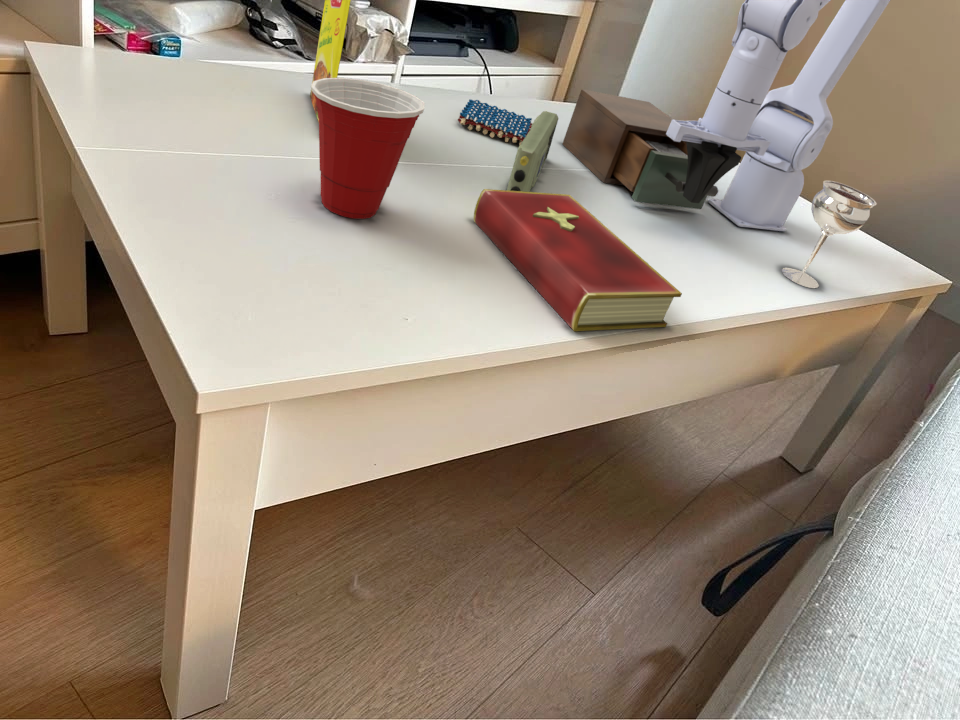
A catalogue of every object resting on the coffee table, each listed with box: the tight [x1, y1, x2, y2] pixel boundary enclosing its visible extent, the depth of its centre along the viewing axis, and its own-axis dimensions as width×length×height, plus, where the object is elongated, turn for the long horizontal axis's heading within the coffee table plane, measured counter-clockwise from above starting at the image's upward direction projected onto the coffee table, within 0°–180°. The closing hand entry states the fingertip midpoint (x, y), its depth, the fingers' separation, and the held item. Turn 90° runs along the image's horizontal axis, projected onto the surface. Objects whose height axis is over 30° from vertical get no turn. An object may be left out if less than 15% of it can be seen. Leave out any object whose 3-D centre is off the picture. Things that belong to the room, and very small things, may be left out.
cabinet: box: [561, 88, 687, 187], centre depth 113 cm, size 14×13×9 cm
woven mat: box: [457, 98, 533, 147], centre depth 114 cm, size 10×11×2 cm
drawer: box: [612, 130, 719, 210], centre depth 106 cm, size 17×11×7 cm
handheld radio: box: [506, 110, 559, 192], centre depth 96 cm, size 7×3×25 cm
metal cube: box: [645, 141, 687, 156], centre depth 106 cm, size 5×4×5 cm
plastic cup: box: [310, 77, 426, 220], centre depth 75 cm, size 11×11×12 cm
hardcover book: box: [473, 188, 683, 332], centre depth 79 cm, size 12×21×4 cm, turn 27°
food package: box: [309, 0, 352, 123], centre depth 92 cm, size 15×1×20 cm, turn 17°
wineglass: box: [781, 180, 878, 289], centre depth 95 cm, size 7×7×12 cm
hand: (690, 199), depth 98 cm, fingers closed, pressing on drawer
